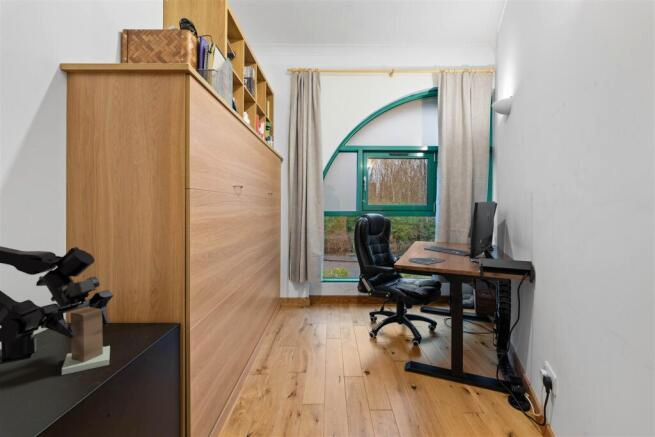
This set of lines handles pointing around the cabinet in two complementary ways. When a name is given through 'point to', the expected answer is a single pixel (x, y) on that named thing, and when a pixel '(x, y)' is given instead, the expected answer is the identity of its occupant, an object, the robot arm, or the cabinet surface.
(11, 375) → the cabinet surface
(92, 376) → the cabinet surface
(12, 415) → the cabinet surface
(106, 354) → the sage board
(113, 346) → the cabinet surface
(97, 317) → the walnut block
